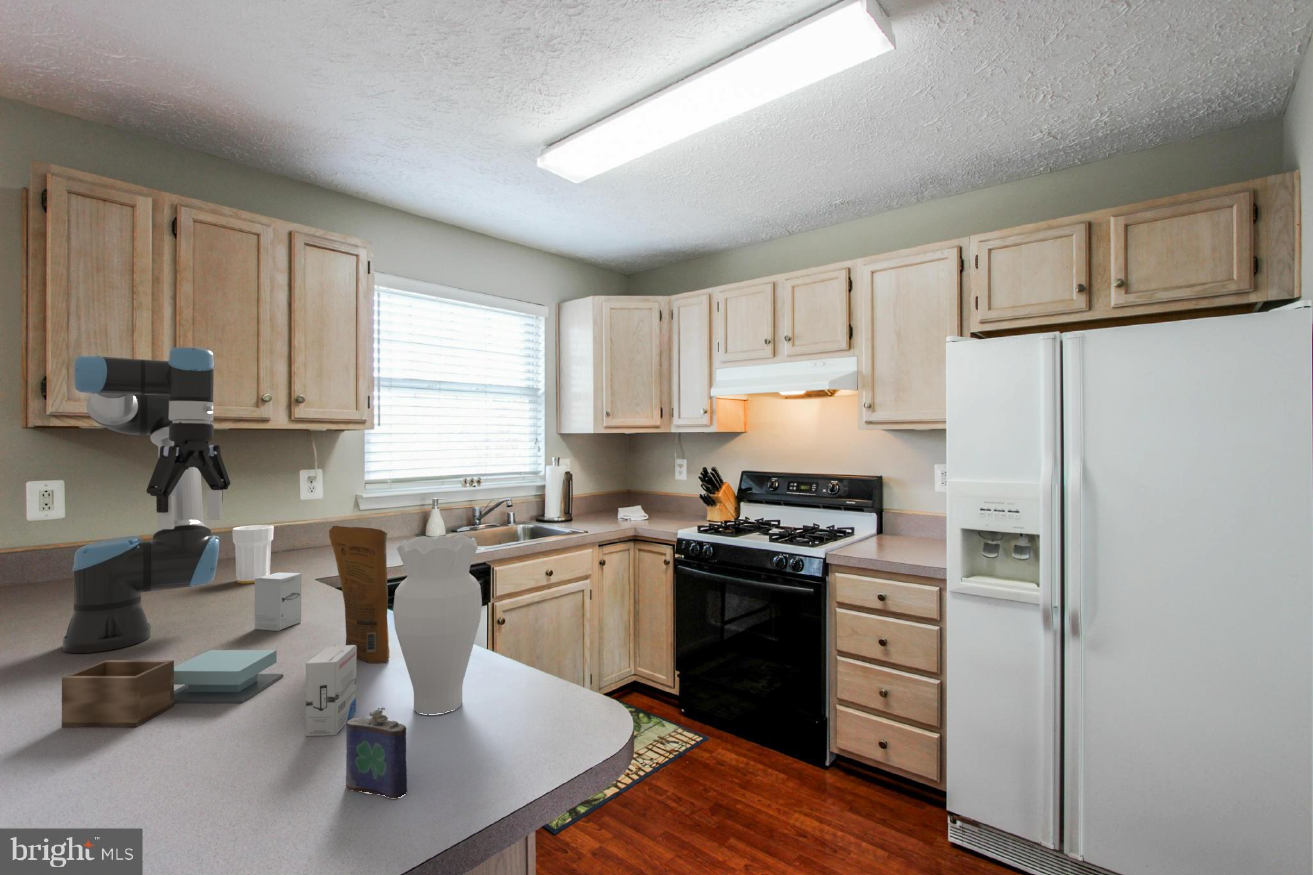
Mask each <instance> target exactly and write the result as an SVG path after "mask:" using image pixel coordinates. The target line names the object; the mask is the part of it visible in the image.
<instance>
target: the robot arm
mask: <svg viewBox="0 0 1313 875" xmlns="http://www.w3.org/2000/svg"><path fill="white" fill-rule="evenodd" d="M168 354H169V355H168V360H158V359H139V358H138V359H137V358H127V357H126V358H124V357H111V356H100V355H92V356H91V355H86V356H84V355H80V356H77V357H76V358H75V360H74V366H73V367H74V371H73V372H74V389H75V390H76V391H77V392H78V393H85V394H86V393H88V394H89V396H88V398H87V400H86V405H85V406H86V411H87V414H88V415H89V418H90V419H92V420H93V421H94V422H95V423H96V424H98V425H100V426H101V427H103V428H106V429H108V430H111V431H114V432H117V433H121V434H125V435H131V436H134V435H137V436H140V435H141V436H149V437H150V441H151V442H152V444H154V445H155V446H157V447H158V448H157V449H158V450H157V451H158V452H157V453H158V459H157V462H156V464H155V467H154V470H153V472H152V473H151V474H152V475H151V478H150V480H149V482H148V485H147V487H146V493H147V494H149V495H150V496H151V497H155V498H156V508H155V509H156V513H157V530H156V531H155V532H154V533H153V534H152V540H151V541H144V542H143V539H142V538H141V536H139V535H138V536H136V535H134V536H133V535H132V536H123V537H117V538H111V539H105V540H100V541H95V542H92V543H89V544H86V545H83V546H81V547H79V548H77V550H76V551H75V553H74V557H73V558H74V559H73V567H72V572H73V614H72V617H71V618H70V621H69V624H68V627H67V629H66V633H65V635H64V636H63V639H62V651H63V652H64V653H69V654H70V653H71V654H91V653H98V652H105V651H112V650H116V649H122V648H125V647H129V646H133V645H136V644H140V643H142V642H144V641H147V640H148V639H150V638H151V636H152V635H151V634H152V633H151V632H152V626H151V624H150V623H149V621H148V619H147V616H146V613H145V611H144V608H143V605H142V593H147V592H156V591H165V590H174V589H180V588H183V589H184V588H193V587H196V586H202V585H206V584H207V585H208V584H210V583H211V582H213V580H214V578H215V576H216V572H217V565H218V559H219V551H220V537H219V536H218V535H216V534H215V535H212V529H211V527H209V526H207V525H205V524H204V523H205V522H204V508H203V507H204V506H203V491H202V490H203V489H202V478H203V479H204V481H205V482H206V484H207V485H208V487H209V488H210V489H208V490H207V491H206V494H207V496H206V498H207V501H206V502H207V504H206V505H207V509H206V510H207V511H206V512H207V514H206V516H207V519H206V520H207V521H222V520H223V496H224V495H223V493H224V490H226V491H227V490H228V489H229V487H230V485H231V480H230V477H229V475H228V472H227V469H226V466H225V463H224V461H223V457H222V454H221V446H220V445H219V444H209V442H212V441H213V440H214V439H215V438H214V436H215V435H214V434H215V433H214V431H215V429H214V428H215V425H213V422H212V421H214V385H215V384H214V380H215V379H214V374H215V372H214V371H215V366H216V365H215V363H214V362H215V361H214V353H213V352H212V351H211V350H209V349H205V348H202V347H201V348H199V347H188V346H185V347H184V346H181V347H179V346H178V347H173V348H171V349H170V350H169V353H168Z"/></svg>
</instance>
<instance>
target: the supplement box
mask: <svg viewBox="0 0 1313 875" xmlns="http://www.w3.org/2000/svg"><path fill="white" fill-rule="evenodd" d="M301 623H302V573H301V572H275V573H272V574H271V573H270V575H266V576H262V577H258V578H255V583H254V630H262V631H272V632H273V631H276V632H279V631H282V630H283V629H286V628H289V627H292V626H294V625H298V624H301Z"/></svg>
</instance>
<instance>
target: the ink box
mask: <svg viewBox="0 0 1313 875" xmlns="http://www.w3.org/2000/svg"><path fill="white" fill-rule="evenodd" d="M356 651H357V647H356V646H355V645H329V646H327V647H326V648H324V649H322V651H320V652H319V653H317V654H316V655H315V656H313V657H312V658H311V659H310V660H308V661H307V662H306V663H305V736H306V737H320V736H321V737H322V736H323V737H325V736H336V735H337V734H338V733H339V732H340V731H341V730H342V729H343V728H344V727H345V726H346V722H348V721H349V720H350V719H352V717H353V715H354V714H355V713H356V709H357V708H356V707H357V705H356V703H357V658H356Z"/></svg>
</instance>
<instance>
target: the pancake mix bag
mask: <svg viewBox="0 0 1313 875" xmlns="http://www.w3.org/2000/svg"><path fill="white" fill-rule="evenodd" d="M328 536H329V539H330V540H329V542H330V544H331V548H332V550H333V553H334V554H333V555H334V558H335V562H336V563H335V564H336V568H337V572H338V576H339V582H340V586H341V591H342V597H343V604H344V619H345V635H346V636H345V645H355V646H356V647H357V651H356V659H358V660H361V661H363V662H365V663H368V664H383V663H389V662H390V660H389V659H390V646H389V641H390V638H389V636H390V635H389V626H388V605H389V603H388V602H389V589H388V570H387V568H388V566H387V554H388V553H387V537H388V532H386V531H384V530H382V529H378V528H373V527H362V526H361V527H359V526H352V527H351V526H349V527H348V526H341V525H332V526H331V528H330V529H329V530H328Z"/></svg>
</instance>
